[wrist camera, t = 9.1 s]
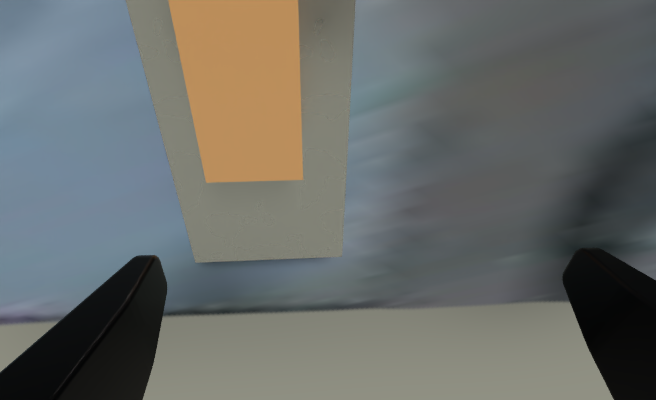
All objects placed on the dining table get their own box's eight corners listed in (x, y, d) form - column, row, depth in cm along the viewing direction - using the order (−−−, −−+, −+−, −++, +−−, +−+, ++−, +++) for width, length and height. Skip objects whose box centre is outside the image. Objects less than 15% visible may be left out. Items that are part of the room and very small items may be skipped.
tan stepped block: (293, -128, 14) (293, -146, 9) (300, 106, 20) (303, 179, 14) (194, -131, 14) (137, -150, 9) (229, 108, 19) (206, 182, 14)
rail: (365, -511, 10) (389, -643, 7) (337, 221, 24) (341, 256, 22) (30, -543, 9) (-60, -695, 7) (205, 226, 24) (195, 262, 21)
